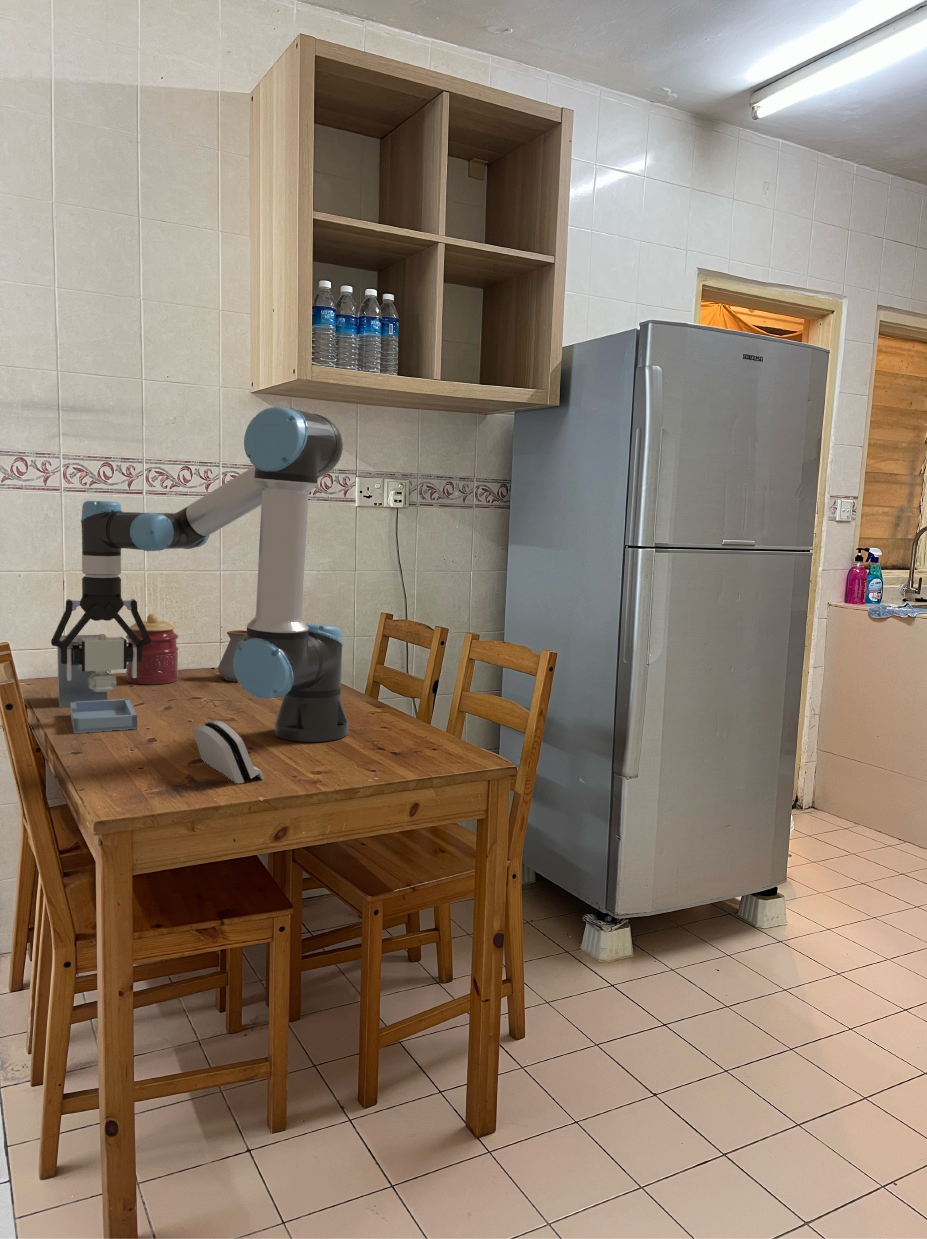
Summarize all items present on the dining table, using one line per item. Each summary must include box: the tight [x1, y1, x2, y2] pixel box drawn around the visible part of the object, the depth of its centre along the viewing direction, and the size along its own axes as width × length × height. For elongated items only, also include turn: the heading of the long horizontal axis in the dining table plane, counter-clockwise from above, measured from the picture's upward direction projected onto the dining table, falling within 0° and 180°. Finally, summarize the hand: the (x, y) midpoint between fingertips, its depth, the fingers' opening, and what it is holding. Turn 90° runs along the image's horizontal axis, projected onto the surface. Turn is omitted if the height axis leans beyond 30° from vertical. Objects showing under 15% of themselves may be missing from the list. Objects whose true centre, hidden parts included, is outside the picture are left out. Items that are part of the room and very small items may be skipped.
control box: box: [56, 634, 108, 708], centre depth 208 cm, size 11×11×15 cm
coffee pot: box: [217, 630, 247, 682], centre depth 238 cm, size 21×12×15 cm, turn 25°
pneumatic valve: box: [71, 633, 133, 692], centre depth 189 cm, size 6×12×12 cm, turn 123°
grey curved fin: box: [192, 719, 265, 784], centre depth 159 cm, size 17×5×10 cm, turn 36°
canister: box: [125, 613, 179, 686], centre depth 235 cm, size 13×13×18 cm
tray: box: [69, 698, 138, 734], centre depth 190 cm, size 17×12×3 cm
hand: (102, 678), depth 189 cm, fingers closed on pneumatic valve, 12 cm apart
